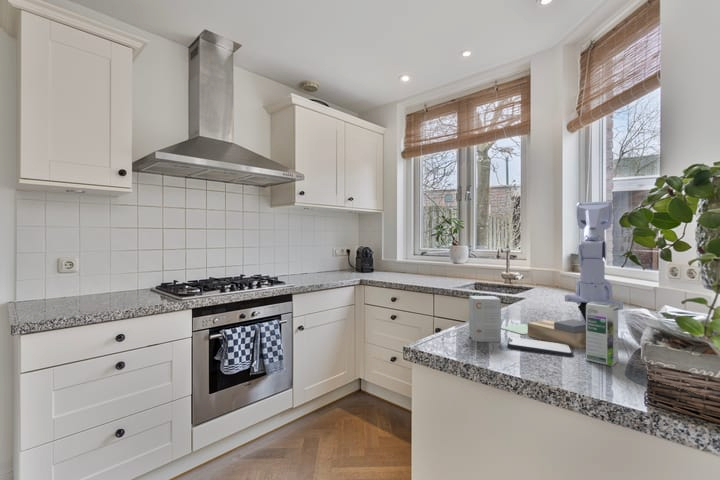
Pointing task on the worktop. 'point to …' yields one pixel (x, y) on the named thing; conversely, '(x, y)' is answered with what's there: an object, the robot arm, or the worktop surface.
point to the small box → (485, 318)
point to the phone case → (539, 346)
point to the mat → (517, 329)
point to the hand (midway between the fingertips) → (592, 330)
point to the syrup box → (602, 333)
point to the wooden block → (555, 334)
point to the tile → (571, 326)
